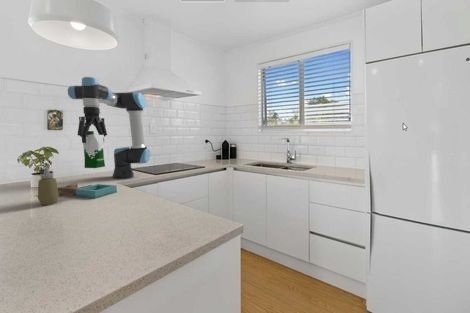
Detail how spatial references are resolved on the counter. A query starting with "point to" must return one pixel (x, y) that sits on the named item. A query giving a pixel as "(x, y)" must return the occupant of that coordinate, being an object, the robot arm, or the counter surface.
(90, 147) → the soya milk
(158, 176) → the counter surface
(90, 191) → the tray
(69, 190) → the dock
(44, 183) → the squeeze bottle
